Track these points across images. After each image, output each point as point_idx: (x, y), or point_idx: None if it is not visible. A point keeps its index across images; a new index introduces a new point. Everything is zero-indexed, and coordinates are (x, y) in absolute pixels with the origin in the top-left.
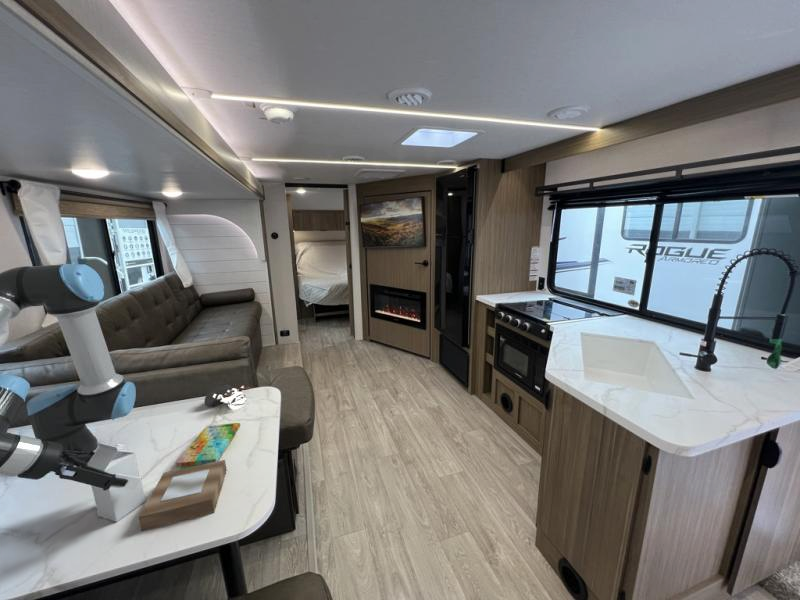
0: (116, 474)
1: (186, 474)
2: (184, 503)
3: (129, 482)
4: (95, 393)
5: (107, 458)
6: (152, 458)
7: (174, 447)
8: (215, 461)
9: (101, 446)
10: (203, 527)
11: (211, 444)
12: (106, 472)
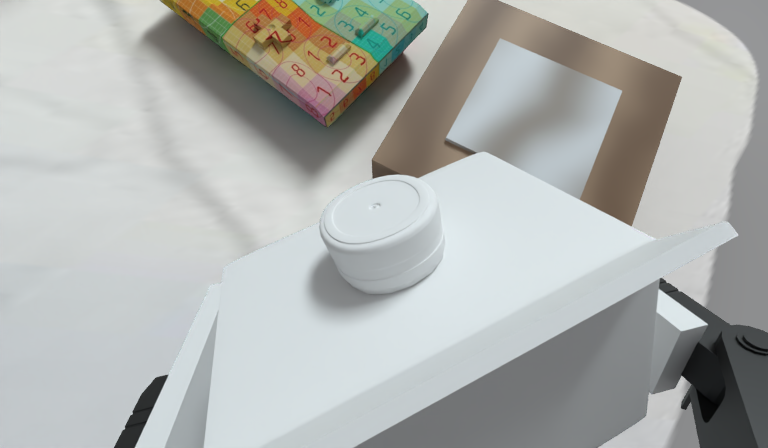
0: (702, 320)
1: (470, 99)
2: (645, 143)
3: None
4: None
5: (583, 381)
6: (131, 190)
7: (131, 115)
8: (425, 24)
9: None
10: (681, 147)
11: None
12: (758, 402)
